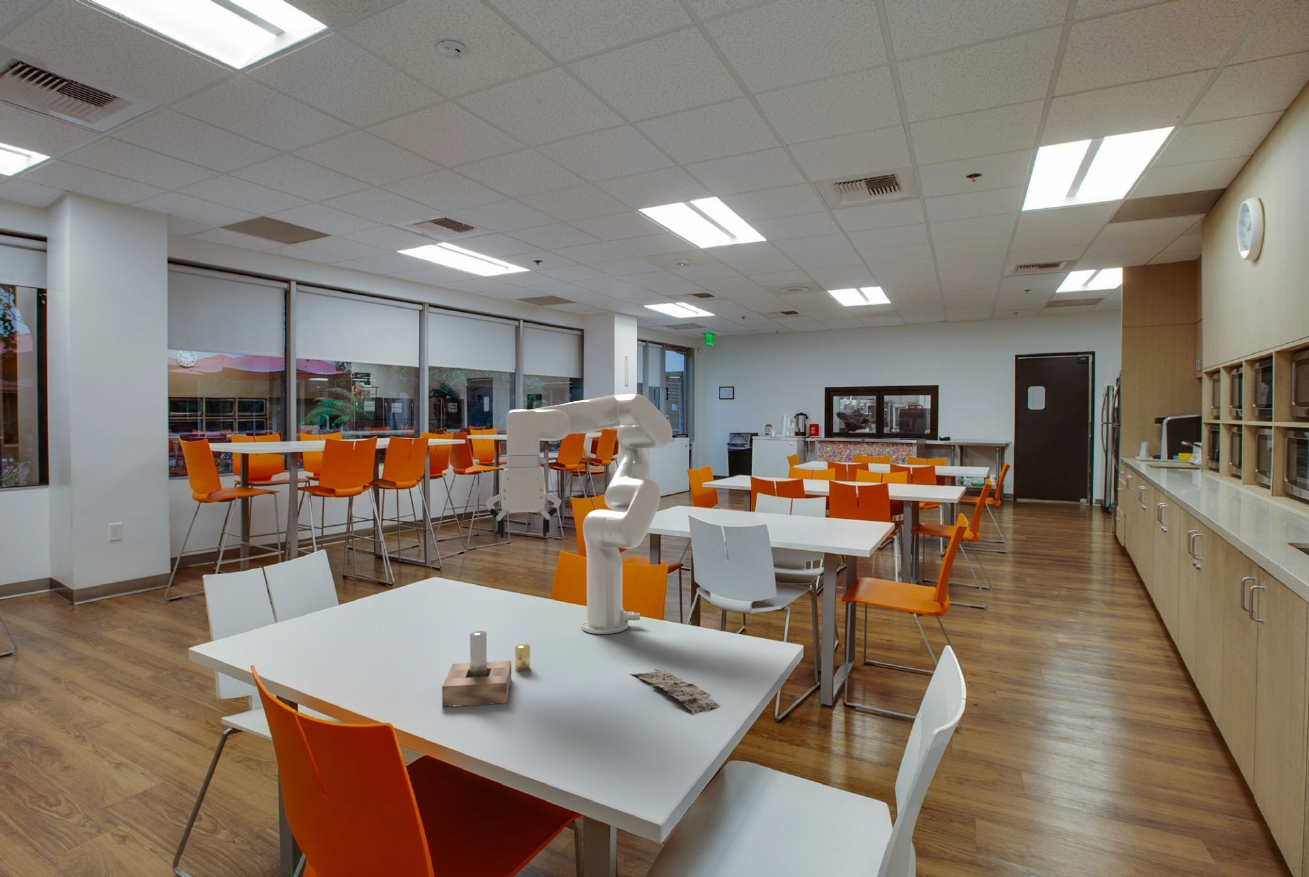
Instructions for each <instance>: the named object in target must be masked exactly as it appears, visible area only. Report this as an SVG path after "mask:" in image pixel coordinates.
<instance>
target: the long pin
mask: <svg viewBox="0 0 1309 877" xmlns="http://www.w3.org/2000/svg"><path fill="white" fill-rule="evenodd" d="M487 650H488V648H487V632H486V631H483V630H476V631H473V632H470V633H469V663H470V678H472V677H487V662H488V661H487V652H488V651H487Z"/></svg>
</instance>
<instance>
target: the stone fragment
mask: <svg viewBox="0 0 1309 877" xmlns="http://www.w3.org/2000/svg"><path fill="white" fill-rule="evenodd" d="M631 675H632V676H637V677H638V678H639V679H641V680H644V681H646V682H648V683H650V684H649V686H650V687H651V688H653V687H654V688H655V687H659V688H662V690H664V691H666V692H668V693H667V695H668V696H672V697H673V698H675V699H678V701H679V702H681V704H682V705H683V706H685V708H687V709H688V710H690V711H691V715H695V714H699V713H705V712H709V711H710V710H711V709H714V708H720V706H721V705H720V704H719V703H718V702H715V701H714V700H713V699H711V698H710V696H712V695H711V694H710V693H708V692H706V691H705V690H703V689H700V687H698V686H697V685H695V684H694V683H691V682H690V683H688V682H687V681H685V680H684V679H683V678H679V677H678V676H675V675H674V674H673V673H672V672H669V671H665V670H659V669H656V668H654V669H653V671H651V672H643V673H640V672H639V673H634V674H633V673H631Z"/></svg>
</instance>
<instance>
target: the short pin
mask: <svg viewBox="0 0 1309 877" xmlns="http://www.w3.org/2000/svg"><path fill="white" fill-rule="evenodd" d="M514 648H515V649H514V652H515V653H514V654H515V655H514V656H515V658H514V659H515V660H514V662H515V665H514V666H515V668H514V669H515V671H516V672H528V671H529V670H530V669H531V655H530V654H531V645H530V644H528V643H520V644H516V645H515V646H514Z"/></svg>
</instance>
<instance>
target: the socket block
mask: <svg viewBox="0 0 1309 877" xmlns="http://www.w3.org/2000/svg"><path fill="white" fill-rule="evenodd" d="M511 683H512V660H502V661H501V660H500V661H499V660H497V661H487V677H472V678H470V662H463V663H460V662H459V663H452V665H451V667H450V669H449V671H448V674H447V676H446V677H445V680H444V682H443V684H442V685H441V694H442V695H441V702H442V703H441V706H453V705H470V706H479V705H478V704H486V705H492V704H491V703H502V704H507V703H508V696H509V692H510V687H511Z"/></svg>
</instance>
